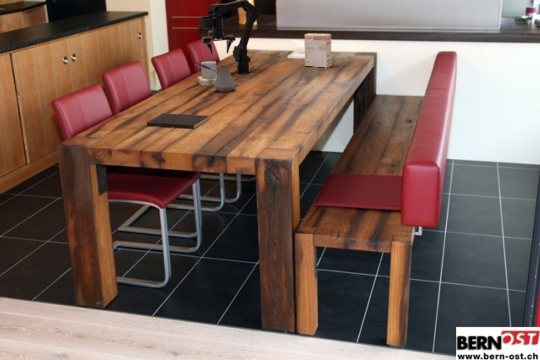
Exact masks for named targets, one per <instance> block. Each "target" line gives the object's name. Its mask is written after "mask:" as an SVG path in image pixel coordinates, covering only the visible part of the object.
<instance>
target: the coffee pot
mask: <svg viewBox="0 0 540 360" xmlns="http://www.w3.org/2000/svg"><path fill="white" fill-rule="evenodd" d="M197 65H198V66H202V67H204V68H207V69H210V70H212V71H215V72H217V78H216V81H215V84H214V85H213V87H214V89H215V90H216V91H218V92H220V93H227V92H228V93H229V92H231V91H233V90H234V89H235V87H236V86H237V85H236V82H235V79H234V78H233V76H232V74H231V72H230V67H231V66H230V65H226V64H223V65H218V66H217V68H218V70H217V69H216V70H217V71H216V70H214V69H211V68H209V67H207V66H205V65H202V64H201V63H199V62H195V65H194V66H197Z"/></svg>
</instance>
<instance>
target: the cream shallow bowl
mask: <svg viewBox="0 0 540 360" xmlns="http://www.w3.org/2000/svg"><path fill="white" fill-rule="evenodd" d="M216 78H217V77H216ZM216 78H202V75H201V76H196V81H197V83H198V85H200V86H201V87H206V86H214V84H215V81H216Z"/></svg>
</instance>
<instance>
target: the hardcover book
mask: <svg viewBox="0 0 540 360" xmlns="http://www.w3.org/2000/svg"><path fill="white" fill-rule="evenodd" d="M207 121H209V115H204V114H203V115H199V114H186V113H185V114H182V113H180V114H179V113H165V112H164V113H162V114H159V115H158V116H155V117H154V118H151V119H150V120H149V121H146V126H147V127H154V126H161V127H160V128H171V127H174V129H187V130H188V129H189V130H190V129H191V130H194V129H196V128H197V127H199V126H200V125H202V124H203V123H205V122H207Z"/></svg>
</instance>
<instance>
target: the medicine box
mask: <svg viewBox="0 0 540 360" xmlns="http://www.w3.org/2000/svg"><path fill="white" fill-rule="evenodd" d="M200 64H202V65H205V66H207V67H209V68H211V69H214V70H216V71H218V70H217V61H202V62H201V63H200ZM200 71H201V76H202V78H216V77H217V75H218V73H217V72H215V71H212V70H210V69H207V68H204V67H202V66H201V67H200Z"/></svg>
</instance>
